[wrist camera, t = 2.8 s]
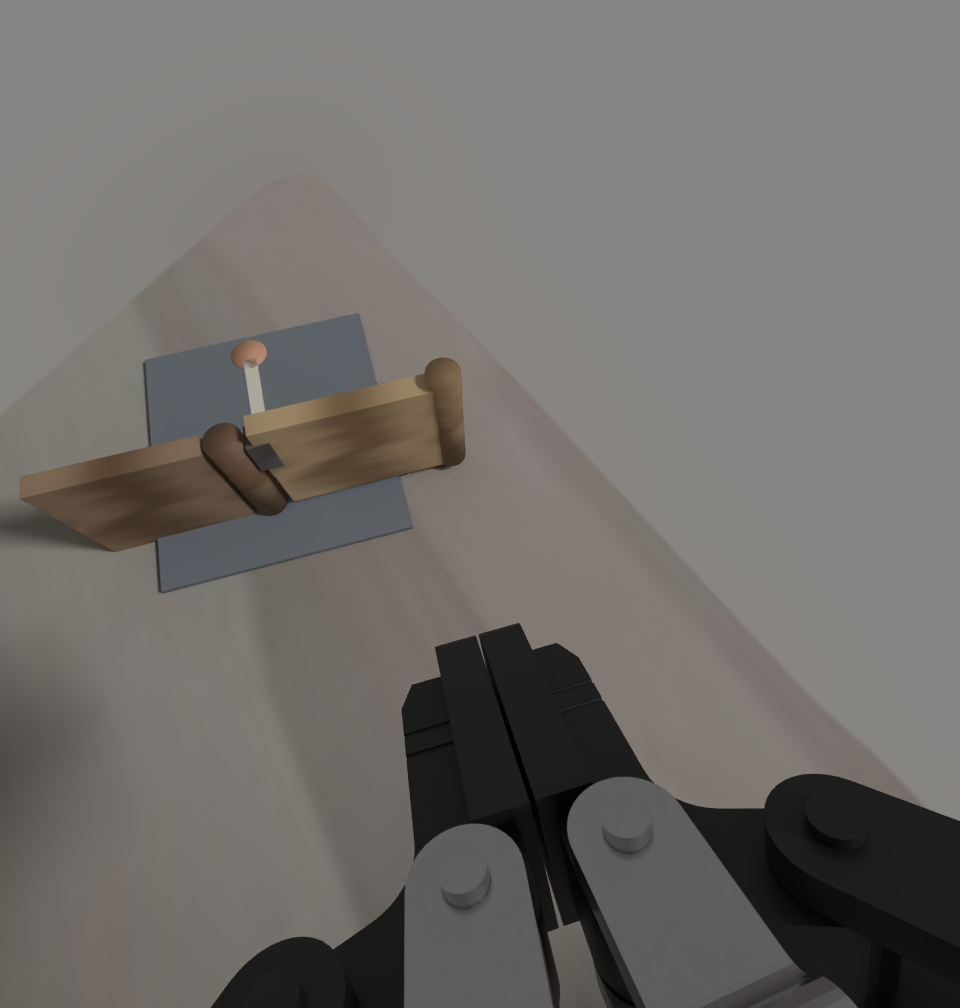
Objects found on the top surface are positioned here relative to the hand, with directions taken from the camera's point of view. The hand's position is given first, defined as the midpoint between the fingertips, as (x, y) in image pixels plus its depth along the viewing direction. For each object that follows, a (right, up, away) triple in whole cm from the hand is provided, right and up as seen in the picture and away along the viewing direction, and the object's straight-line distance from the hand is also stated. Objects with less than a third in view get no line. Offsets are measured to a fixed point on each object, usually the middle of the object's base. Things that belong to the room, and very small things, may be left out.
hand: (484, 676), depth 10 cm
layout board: (-14, +7, +28) cm, 32 cm away
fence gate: (-6, +5, +27) cm, 28 cm away
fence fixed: (-17, +2, +26) cm, 31 cm away
